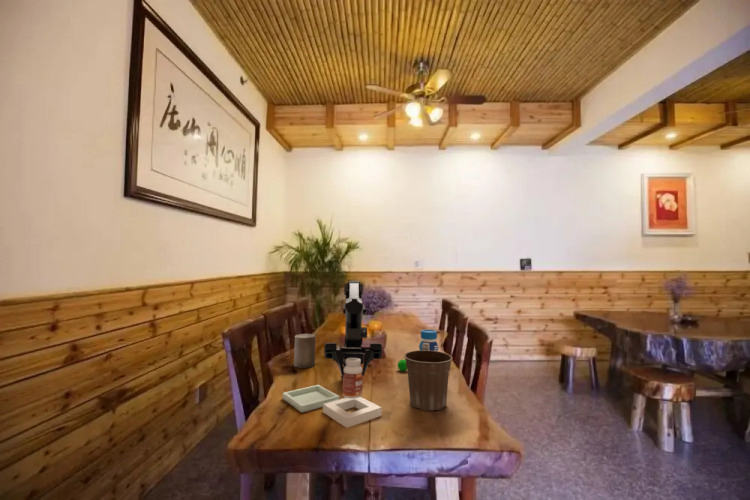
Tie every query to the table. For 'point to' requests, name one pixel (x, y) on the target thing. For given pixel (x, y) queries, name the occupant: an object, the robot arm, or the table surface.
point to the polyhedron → (402, 365)
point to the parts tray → (309, 398)
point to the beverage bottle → (428, 340)
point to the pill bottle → (352, 378)
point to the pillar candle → (304, 350)
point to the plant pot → (428, 378)
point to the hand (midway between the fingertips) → (352, 375)
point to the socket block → (349, 419)
